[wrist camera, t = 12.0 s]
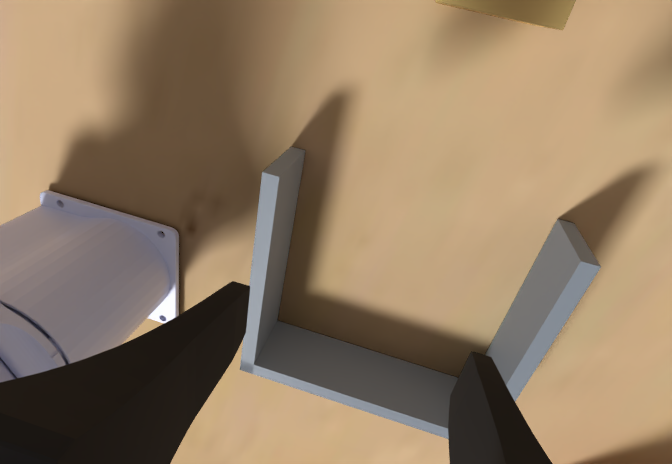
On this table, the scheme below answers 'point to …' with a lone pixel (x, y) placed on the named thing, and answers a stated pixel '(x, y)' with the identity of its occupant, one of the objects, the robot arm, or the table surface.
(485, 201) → the table surface
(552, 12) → the block
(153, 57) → the table surface
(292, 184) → the u-shaped frame
